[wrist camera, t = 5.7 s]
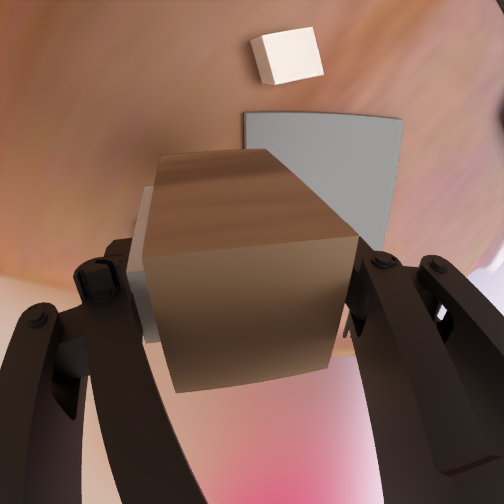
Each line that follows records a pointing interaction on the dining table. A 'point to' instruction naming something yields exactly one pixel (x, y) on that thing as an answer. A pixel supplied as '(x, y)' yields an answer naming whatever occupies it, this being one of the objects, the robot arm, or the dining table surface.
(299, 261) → the walnut block
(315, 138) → the grey mat
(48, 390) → the robot arm
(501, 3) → the painting
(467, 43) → the dining table surface
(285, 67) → the white cube
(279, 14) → the dining table surface
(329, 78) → the dining table surface
